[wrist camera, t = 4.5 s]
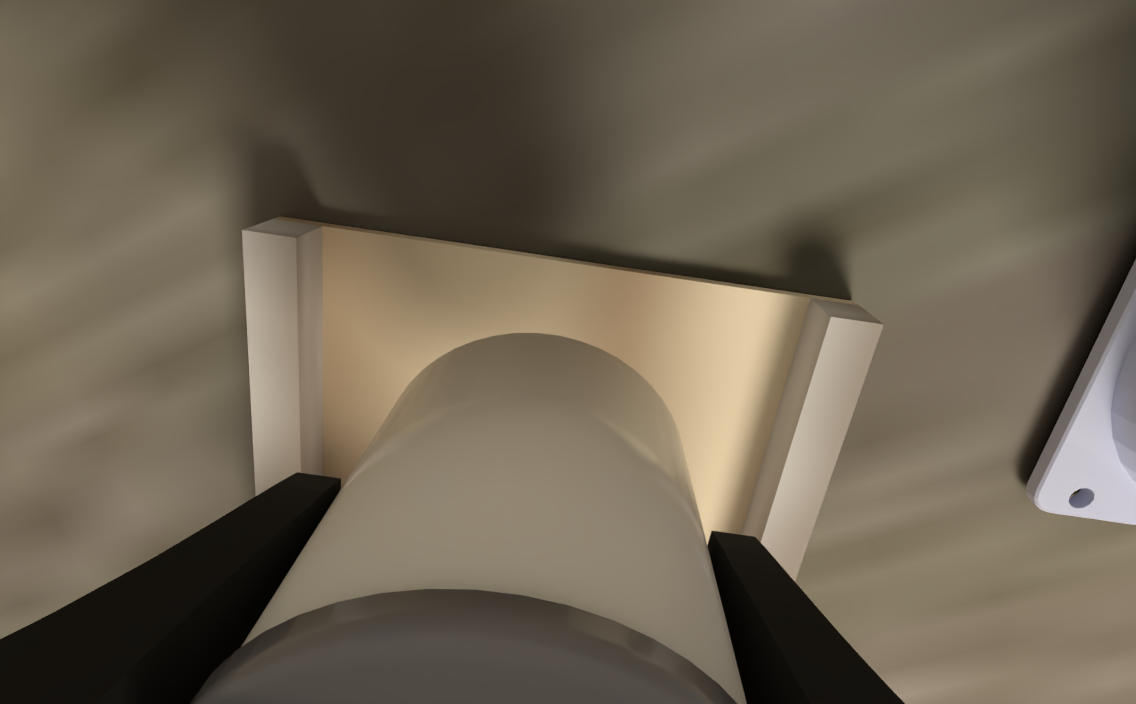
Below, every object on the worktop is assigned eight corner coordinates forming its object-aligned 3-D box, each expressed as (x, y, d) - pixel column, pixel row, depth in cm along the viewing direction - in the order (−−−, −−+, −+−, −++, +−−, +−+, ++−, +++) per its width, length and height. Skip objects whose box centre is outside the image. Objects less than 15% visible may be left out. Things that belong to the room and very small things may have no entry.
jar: (711, 336, 9) (879, 689, 4) (672, 605, 11) (746, 1090, 6) (365, 316, 10) (44, 631, 4) (386, 586, 12) (193, 1045, 6)
